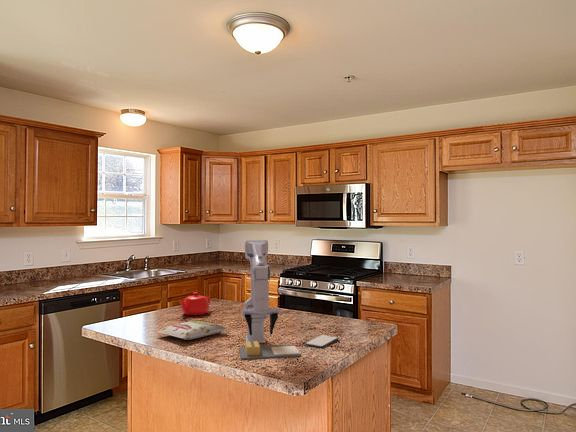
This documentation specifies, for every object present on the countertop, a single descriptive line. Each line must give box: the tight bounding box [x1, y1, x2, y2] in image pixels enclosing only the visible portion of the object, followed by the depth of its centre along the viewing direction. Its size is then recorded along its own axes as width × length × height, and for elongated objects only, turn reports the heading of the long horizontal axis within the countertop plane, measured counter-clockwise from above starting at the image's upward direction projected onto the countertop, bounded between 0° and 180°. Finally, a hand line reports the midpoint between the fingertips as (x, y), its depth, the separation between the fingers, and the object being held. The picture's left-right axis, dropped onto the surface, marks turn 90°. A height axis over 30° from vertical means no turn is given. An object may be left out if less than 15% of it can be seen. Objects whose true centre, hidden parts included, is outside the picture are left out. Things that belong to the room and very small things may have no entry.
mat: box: [238, 344, 302, 361], centre depth 166 cm, size 14×23×1 cm, turn 100°
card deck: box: [244, 341, 261, 355], centre depth 165 cm, size 8×5×3 cm, turn 11°
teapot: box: [178, 291, 211, 316], centre depth 237 cm, size 25×16×12 cm, turn 149°
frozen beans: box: [157, 320, 229, 341], centre depth 191 cm, size 21×6×25 cm
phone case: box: [304, 334, 339, 349], centre depth 181 cm, size 9×2×16 cm
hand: (260, 334), depth 158 cm, fingers open, 7 cm apart
